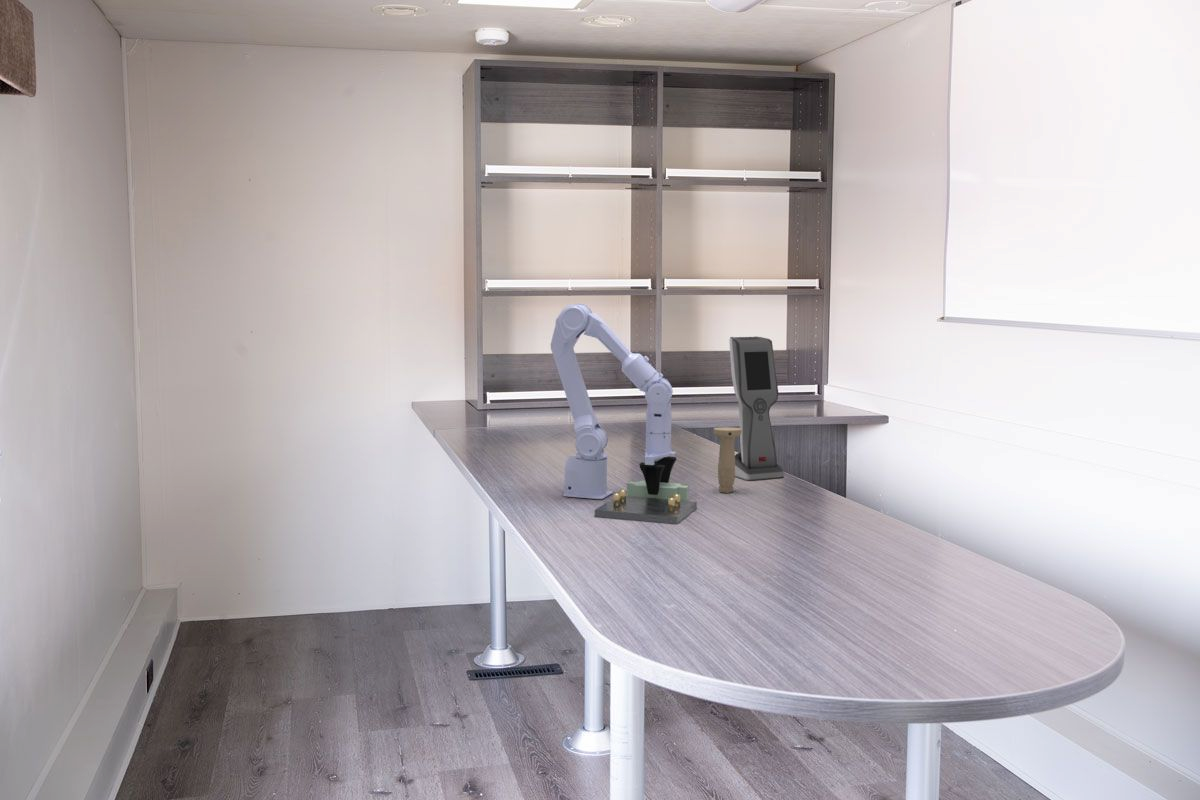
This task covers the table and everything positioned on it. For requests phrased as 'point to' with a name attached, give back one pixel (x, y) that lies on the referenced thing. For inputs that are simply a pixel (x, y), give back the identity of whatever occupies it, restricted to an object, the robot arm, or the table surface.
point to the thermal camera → (755, 406)
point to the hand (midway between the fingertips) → (657, 491)
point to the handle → (726, 457)
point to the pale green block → (664, 490)
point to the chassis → (646, 508)
